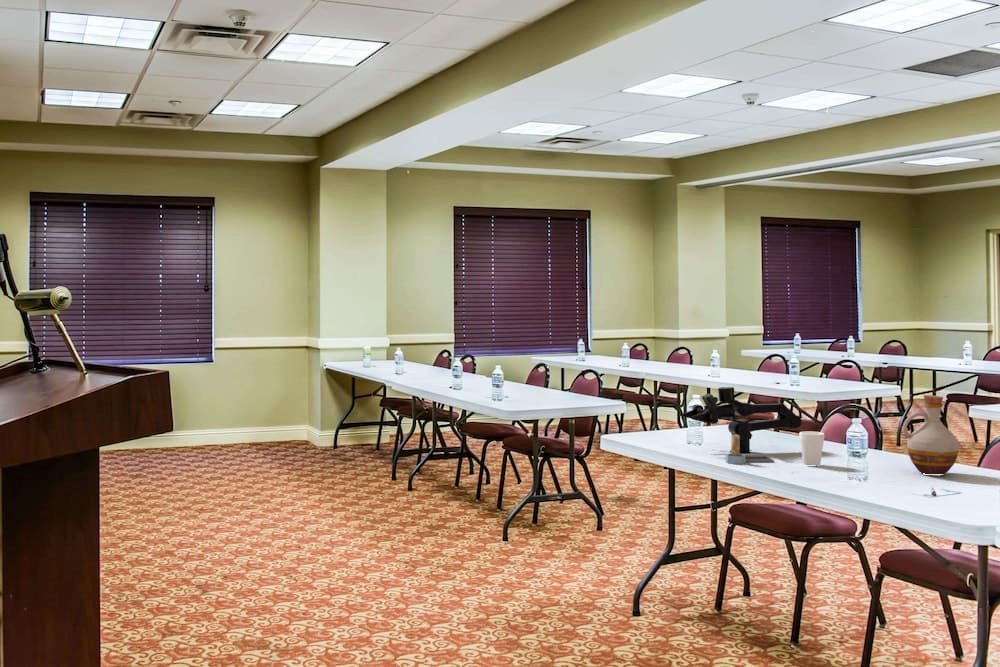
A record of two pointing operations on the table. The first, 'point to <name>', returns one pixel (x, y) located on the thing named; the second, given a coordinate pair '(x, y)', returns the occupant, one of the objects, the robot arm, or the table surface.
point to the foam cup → (811, 447)
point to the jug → (931, 440)
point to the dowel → (735, 445)
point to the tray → (758, 459)
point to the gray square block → (735, 459)
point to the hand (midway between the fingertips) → (687, 416)
